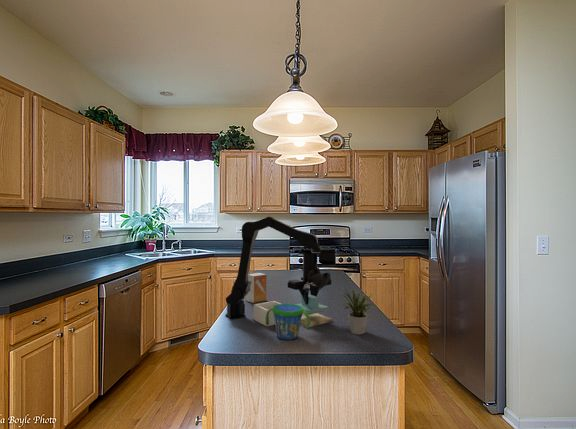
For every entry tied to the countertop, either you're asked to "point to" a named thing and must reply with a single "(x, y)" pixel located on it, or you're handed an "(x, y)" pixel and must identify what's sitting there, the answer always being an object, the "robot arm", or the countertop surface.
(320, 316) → the wooden board
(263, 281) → the small box
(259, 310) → the storage box
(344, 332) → the countertop surface
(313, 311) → the lid
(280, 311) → the snack cup
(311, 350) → the countertop surface
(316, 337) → the countertop surface
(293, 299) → the countertop surface
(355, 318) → the house plant
